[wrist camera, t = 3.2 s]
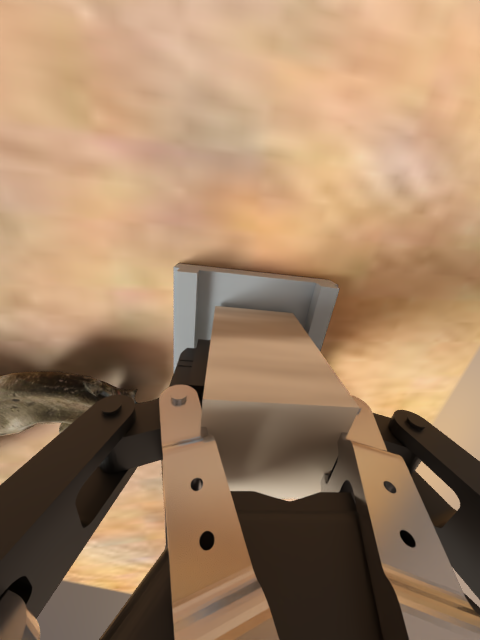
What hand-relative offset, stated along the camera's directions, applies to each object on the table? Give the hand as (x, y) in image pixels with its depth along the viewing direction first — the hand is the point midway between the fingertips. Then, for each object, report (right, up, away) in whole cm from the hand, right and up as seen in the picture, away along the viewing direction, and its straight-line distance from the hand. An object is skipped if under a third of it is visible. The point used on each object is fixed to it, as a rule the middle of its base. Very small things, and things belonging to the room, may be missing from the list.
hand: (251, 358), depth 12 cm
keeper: (0, +1, +1) cm, 2 cm away
